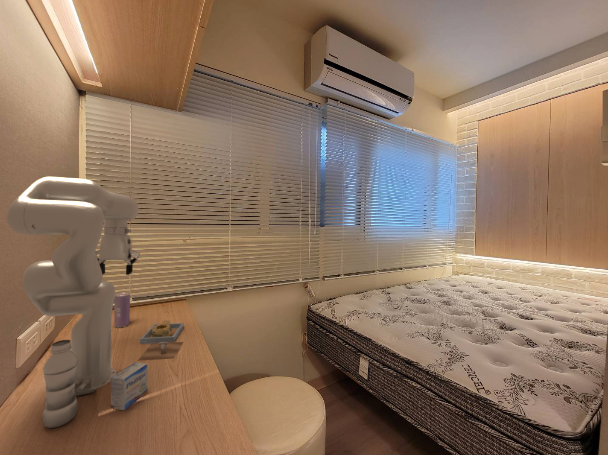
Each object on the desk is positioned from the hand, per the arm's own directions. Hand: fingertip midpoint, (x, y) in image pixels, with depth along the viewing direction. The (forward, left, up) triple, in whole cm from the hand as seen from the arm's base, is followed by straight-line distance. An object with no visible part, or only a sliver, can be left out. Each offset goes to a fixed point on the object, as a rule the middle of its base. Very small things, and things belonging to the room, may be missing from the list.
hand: (115, 274), depth 104 cm
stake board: (-10, -21, -28) cm, 37 cm away
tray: (+4, -17, -28) cm, 33 cm away
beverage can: (+19, +6, -28) cm, 35 cm away
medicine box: (-36, -21, -29) cm, 51 cm away
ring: (+4, -17, -28) cm, 32 cm away
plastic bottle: (-42, -8, -28) cm, 51 cm away
